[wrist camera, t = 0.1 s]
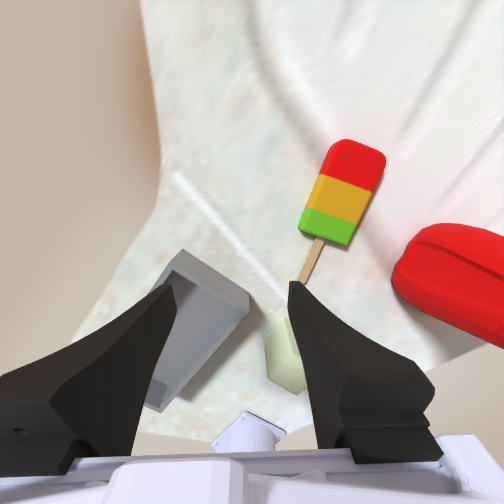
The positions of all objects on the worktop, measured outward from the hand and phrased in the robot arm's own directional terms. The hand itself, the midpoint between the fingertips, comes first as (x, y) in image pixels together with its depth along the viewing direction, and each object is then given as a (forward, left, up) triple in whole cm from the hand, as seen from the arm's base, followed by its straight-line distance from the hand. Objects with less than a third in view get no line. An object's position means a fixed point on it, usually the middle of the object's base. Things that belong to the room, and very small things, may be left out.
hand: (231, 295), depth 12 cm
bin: (-13, 0, -10) cm, 17 cm away
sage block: (-6, -12, -11) cm, 17 cm away
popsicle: (+8, -6, -11) cm, 15 cm away
